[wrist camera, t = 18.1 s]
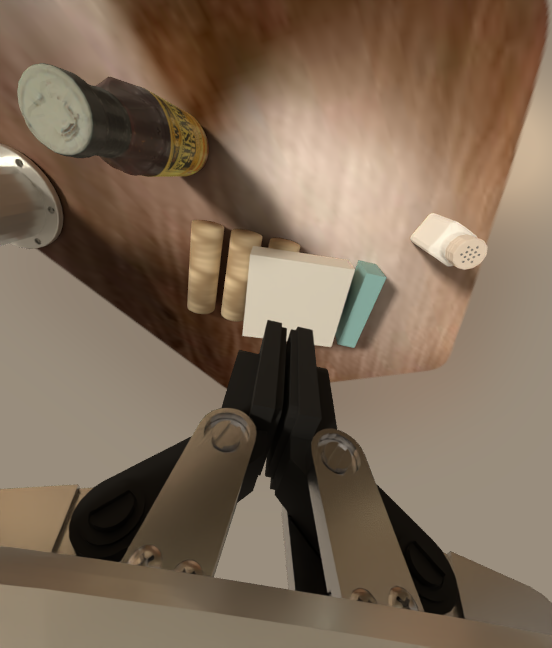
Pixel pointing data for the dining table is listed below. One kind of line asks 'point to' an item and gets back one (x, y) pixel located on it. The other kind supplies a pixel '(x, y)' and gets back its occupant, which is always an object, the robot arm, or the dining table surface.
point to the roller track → (208, 264)
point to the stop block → (359, 302)
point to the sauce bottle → (111, 123)
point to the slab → (296, 292)
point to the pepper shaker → (449, 242)
